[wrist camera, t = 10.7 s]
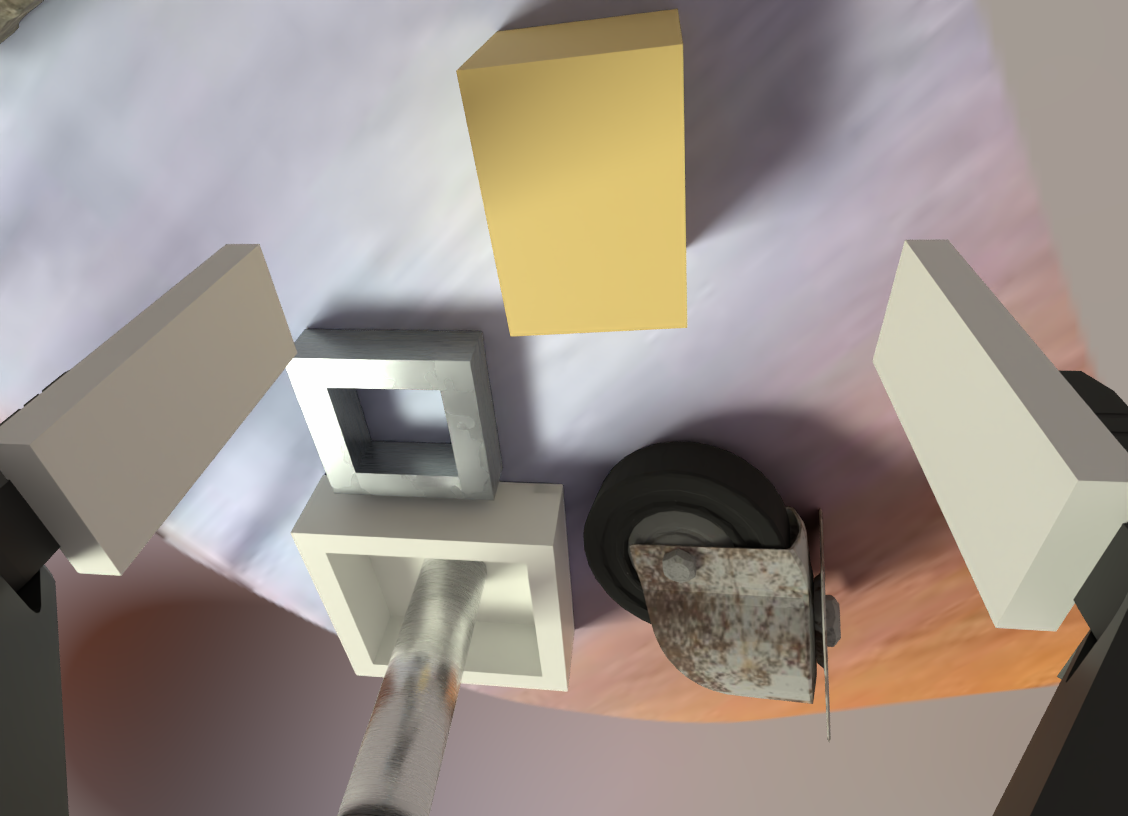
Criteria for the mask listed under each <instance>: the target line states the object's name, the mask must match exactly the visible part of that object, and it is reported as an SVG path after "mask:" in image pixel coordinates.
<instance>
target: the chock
mask: <svg viewBox="0 0 1128 816" xmlns="http://www.w3.org/2000/svg"><path fill="white" fill-rule="evenodd" d="M456 72H457V77H458V82H459V87H460V92H461V96H462V101H463V106H464V111H465V116H466V121H467V126H468V131H469V136H470V141H471V145H472V150H473V155H474V160H475V165H476V170H477V175H478V180H479V185H480V189H481V194H482V199H483V204H484V209H485V214H486V219H487V224H488V229H489V234H490V238H491V243H492V248H493V253H494V258H495V263H496V268H497V273H498V278H499V282H500V287H501V292H502V297H503V302H504V307H505V312H506V317H507V322H508V327H509V331H510V336H530V335H550V334H570V333H590V332H611V331H631V330H651V329H671V328H687V282H686V215H685V148H684V81H683V41H682V35H681V28H680V21H679V15H678V9H671V10H663V11H656V12H648V13H640V14H632V15H624V16H616V17H608V18H600V19H592V20H584V21H576V22H568V23H561V24H553V25H545V26H537V27H529V28H521V29H513V30H505V31H497V32H496V33H495V34H494V35H493V36H492V37H491V38H490V39H489V40H488V41H487V42H486V43H485V44H484V45H483V46H482V47H480V48H479V49H478V50H477V51H476V52H475V53H474V54H473V55H472V56H471V57H470V58H469V59H468V60H467V61H466V62H465V63H464V64H463V65H462V66H461V67H460V68H459V69H458V70H457V71H456Z"/></svg>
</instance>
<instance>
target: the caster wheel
mask: <svg viewBox="0 0 1128 816" xmlns="http://www.w3.org/2000/svg"><path fill="white" fill-rule="evenodd" d="M819 523H820V557H821V572H820V574H819V575H817V576H816V577H815V578H814V576H813V571H812V567H811V563H810V556H809V547H808V539H807V531H806V528H805V525H804V522H803V521H802V519H801V518H800V516H799V515H798V513H797V512H796V510H795V509H794V508H792V507H785V505H784V503H783V501H782V498H781V497H780V495H779V494H778V492H777V491H776V489H775V487H774V486H773V485H772V484H771V483H770V482H769V480H768V479H767V478H766V477H765V476H764V475H763V474H762V473H761V472H760V471H759V470H757V469H756V468H755V467H753V466H752V465H751V464H749V463H748V462H747V461H745V460H744V459H742V458H740V457H738V456H736V455H734V454H732V453H731V452H728V451H725V450H722V449H720V448H717V447H714V446H710V445H706V444H701V443H695V442H668V443H660V444H654V445H651V446H648V447H646V448H643V449H640V450H637V451H635V452H634V453H632V454H630V455H628V456H626V457H625V458H624V459H623V460H621V461H620V462H619V463H618V464H617V465H615V466H614V467H613V469H612V470H611V472H610V473H609V474H608V476H607V477H606V479H605V480H604V482H603V484H602V486H601V488H600V490H599V493H598V495H597V497H596V499H595V501H594V503H593V506H592V508H591V510H590V512H589V515H588V517H587V520H586V523H585V526H584V549H585V553H586V557H587V560H588V564H589V566H590V568H591V570H592V572H593V574H594V576H595V578H596V579H597V581H598V582H599V583H600V585H601V586H602V587H603V589H604V590H605V591H606V592H607V594H608V595H609V596H610V597H611V598H612V599H613V600H614V601H616V602H617V603H618V604H619V605H620V606H621V607H622V608H624V609H625V610H627V611H629V612H630V613H632V614H633V615H635V616H637V617H638V618H640V619H641V620H643V621H646V622H648V623H650V624H652V627H653V631H654V634H655V636H656V638H657V641H658V643H659V645H660V647H661V649H662V651H663V652H664V654H665V655H666V657H667V658H668V659H669V661H670V662H671V663H672V664H673V665H674V666H675V667H676V668H677V669H678V670H679V671H680V672H681V673H683V674H684V675H685V676H686V677H688V678H689V679H691V680H692V681H694V682H696V683H697V684H699V685H701V686H703V687H706V688H708V689H711V690H713V691H717V692H721V693H724V694H730V695H737V696H746V697H755V698H764V699H774V700H783V701H792V702H801V703H811V704H813V700H814V692H815V684H816V677H817V663H818V664H819V665H820V666H822V667H823V668H824V671H825V693H826V715H827V716H826V717H827V739H828V741H829V742H830V709H829V681H828V653H827V646H828V647H834V646H835V645H836V643H837V642H838V641H839V640H840V638H841V633H840V609H839V603H838V602H837V600H836V599H835V598H834V597H833V596H832V595H825V573H824V548H823V522H822V511H821V508H820V511H819Z"/></svg>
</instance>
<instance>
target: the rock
mask: <svg viewBox="0 0 1128 816" xmlns="http://www.w3.org/2000/svg"><path fill="white" fill-rule="evenodd" d="M43 1H44V0H0V44H1V43H2V42H3V41H4V40H6V39H7V38H8V37H9V36H11V35H12V34H13V33H14V32H15V31H16V30H17V29H18V28H19V22H20V21H21V20H22V19H23V18H24V16H25V15H26V14H27V13H29V12H30V11H31V10H33V9H34V8H36V7H37V6H38V5H39V4H40V3H42V2H43Z"/></svg>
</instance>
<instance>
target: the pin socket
mask: <svg viewBox="0 0 1128 816" xmlns="http://www.w3.org/2000/svg"><path fill="white" fill-rule="evenodd" d="M294 345H295V347H296V350H297V354H296V355H295V357H294V358H293V359H292V360H291V362H290V363H289V364H288V365H287V367H286V369H287V372H288V374H289V377H290V380H291V382H292V385H293V387H294V390H295V393H296V395H297V398H298V400H299V403H300V406H301V408H302V411H303V414H304V416H305V419H306V421H307V424H308V427H309V429H310V432H311V434H312V437H313V440H314V442H315V445H316V448H317V450H318V453H319V455H320V458H321V461H322V463H323V466H324V468H325V471H326V474H327V476H328V479H329V482H330V484H331V487H332V489H333V492H334V494H352V495H375V496H399V497H422V498H446V499H469V500H493V501H494V499H495V495H496V491H497V488H498V484H499V480H500V476H501V472H502V469H503V465H502V459H501V452H500V446H499V440H498V433H497V427H496V420H495V414H494V407H493V401H492V394H491V388H490V382H489V375H488V369H487V362H486V356H485V349H484V343H483V337H482V331H429V330H337V329H305V330H304V331H303V332H302V334H301V335H300V336H299V337H298V339H297V340H296V341H295V343H294ZM355 388H366V389H411V390H440V391H441V396H442V400H443V405H444V410H445V414H446V419H447V424H448V429H449V433H450V438H451V443H452V444H446V443H415V442H383V441H372V440H371V437H370V434H369V431H368V428H367V424H366V421H365V418H364V415H363V412H362V408H361V405H360V402H359V399H358V396H357V392H356V389H355Z"/></svg>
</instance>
